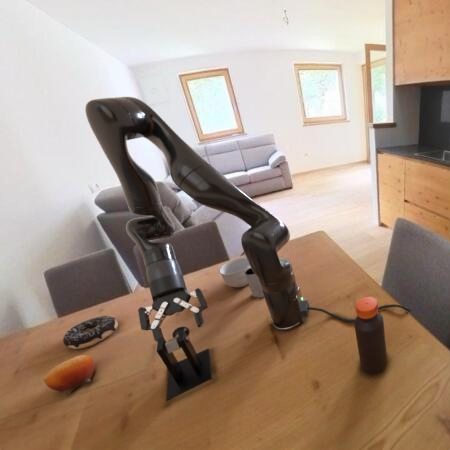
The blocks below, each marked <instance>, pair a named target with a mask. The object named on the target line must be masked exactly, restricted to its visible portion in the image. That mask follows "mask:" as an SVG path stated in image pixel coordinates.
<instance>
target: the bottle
mask: <svg viewBox="0 0 450 450" xmlns="http://www.w3.org/2000/svg"><path fill="white" fill-rule="evenodd" d="M378 307H379V305H378V301H377V299H376V298H375V297H372V296H363V297H361V298H359V299H358V300H357V301H356V303H355V311H356V317H355V318H354V319H355V321H354V322H353V325H354V332H355V337H356V343H357V350H358V356H359V363H360V368H361V370H362V371H363V373H365V374H367V375H369V376H376V375H379V374H381V373H383V371H384V370H385V369H386V367H387V365H388V356H387V355H388V353H387V344H386V334H385V325H384V317H383V315H382V313H380V312H379V310H378Z"/></svg>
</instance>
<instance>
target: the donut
mask: <svg viewBox="0 0 450 450" xmlns="http://www.w3.org/2000/svg"><path fill="white" fill-rule="evenodd" d="M118 326H119V323H118V321H117V320H116V317H113V316H110V315H101V316H95V317H92V318H89V319H87V320H85V321H82V322H80V323H77V324H75V325H74V326H72V327H71V328H69V330H67V331H66V332H65V333H64V336H63V339H62V340H63V344H64V346H66V348H69V349H73V350H80V349H85V348H89V347H92V346H94V345H96V344H98V343H100V342H102V341H104V340H105V339H107V338H108V337H110V336H111V335H112V334H113V333H115V331H116V330H117V329H118Z"/></svg>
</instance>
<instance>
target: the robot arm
mask: <svg viewBox="0 0 450 450" xmlns="http://www.w3.org/2000/svg"><path fill="white" fill-rule="evenodd" d="M84 110H85V116H86V119H87V123H88V125H89V127H90V129H91V131H92V132H93V135H94V136H95V139H96V140H97V142H98V144H99V145H100V148H101V150H102V152H103V153H104V155H105V156H106V159H107V160H108V161H109V164H110V165H111V167H112V170H113V171H114V173H115V174H116V177H117V178H118V181H119V184H120V186H121V189H122V192H123V196H124V198H125V203H126V205H127V207H128V210H129V211H130V212H131V213H132V214H135V215H139V216H142V217H135V218H131V219H129V220H128V221H127V223H126V225H125V232H126V233H127V235H128V237H129V238H130V239H131V240H132V242H133V243H134V245H136V247H137V248H138V250H139V252H140V255H141V257H142V260H143V264H144V268H145V277H146V281H147V284H148V288H149V291H150V295H151V300H152V304H151V305H149V306H146V307H143V306H141V307H139V308H138V309H137V312H138V318H139V324H140V329H141V330H142V331H147V332H148V331H151V332H152V336H153V340H154V341H155V342H157V343H158V338H161V337H164V334H163V330H162V328H161V326H162V324H163V322H164V321H165V320H166V318H167V316H169V317H170V316H173V315H175V314H177V313H182V312H184V310H186V309H187V310H189V311H191V312H193V316H194V319H195V324H196V326H197V328H201V327H203V325H204V323H205V320H204V317H203V311H204V310H206V309H208V307H209V305H208V303H207V300H206V298H205V296H204V293H203V290H202V289H200V288H199V287H197V288H195V289H194V290H192V291H190V292H189V291H188V289H187V285H186V281H185V278H184V274H183V270H182V268H181V265H180V264H179V262H178V258H177V255H176V252H175V248H174V246H173V245H172V244H171V243H168V242H152V241H155V240H161V239H166V238H170V237H171V236H173V235H174V233H175V232H176V225H175V222H174V221H173V219H172V218H171V216H170V215H169V214H168V213H167V211H166V210H165V208H164V205H163V202H162V199H161V195H160V192H159V187H158V185H157V181H156V180H155V179H154V177H153V176H152V175H151V174H150V173H149V172H148V171H147V170H145V168H143V167H142V166H141V165H139V164H138V163H137V162H136V161H135V160H134V158H133V157H132V155H131V154H130V151H129V149H128V144H127V141H131V140H135V139H140V138H141V139H142V138H145V139H146V140H147V141H149V142H151V143H152V144H153V145H154V146H155V147H156V148H157V149H158V150H159V151H160V152H161V153H162V155H163V156H164V158H165V161H166V165H167V169H168V171H169V172H168V173H169V175H170V178H171V180H172V182H173V183H174V184H175V186H177V187H178V188H179V189H180V190H181V191H182V192H184V193H185V194H186V195H187V196H189V197H190V198H191V199H192V200H193V201H195V202H196V203H198V204H200V205H201V206H205V207H206V208H210V209H213V210H217V211H220V212H222V213H225V214H229V215H232V216H234V217H236V218H238V219H240V220H241V221H242V222H243V223H245V224H247V225H248V226H249V228H248V229H247V230H245V231H244V232H243V233H242V235H241V239H240V241H241V242H240V243H241V247H242V250H243V253H244V256H245V255H246V257H247V260H248V262H249V265H250V267H251V269H252V271H253V272H254V273H255V275H256V276H257V277H258V280H259V283H260V286H261V289H262V292H263V295H264V297H263V298H264V301H265V303H266V307H267V310H268V313H269V318H270V320H271V321H272V325H273V327H274V328H275V329H276V330H278V331H288V330H291V329H294V328H297V326H299V325H301V324H304V323H305V318H307V317H309V311H318V312H321V313H324V314H326V315H328V316H330V317H333V318H336V319H338V320H341V321H344V322H349V323H354V321H355V318H345V317H343V316H339V315H337V314H334V313H332V312H330V311H328V310H326V309H324V308H320V307H314V306H313V307H312V306H310V304H309V300H308V299H306V300H304V298H303V295H302V292H301V288H300V286H298V284H297V280H296V277H295V272H294V269H293V265H292V262H291V261H290V260H289V259H287V258H285V257H279V255H278V252H279V251H281V249H283V247H284V246H286V244H287V243H288V242H289V241H290V240H291V239H290V238H291V233H290V230H289V227H288V226H287V225H286V224H285V222H283V221H282V220H281V219H280V218H279V217H277V216H276V215H274V214H273V213H271V211H269V210H268V209H266V208H265V207H263V206H262V205H260V204H259V203H257V202H256V201H255V200H254V199H252V198H251V197H250V196H248V195H247V194H246V193H245V192H243V190H242V189H240V188H239V187H237V186H236V185H235V184H234V183H233V182H232V181H230V179H228V177H226V175H224V174H223V173H222V172H221V171H219V169H217V168H216V167H215V166H214V165H212V164H211V162H209V161H208V160H206V159H205V158H204V157H202V156H201V155H200V154H199V153H198V152H197V151H196V150H195V149H194V148H193V147H192V146H190V144H188V143H187V142H186V141H185V140H184V139H182V137H181V136H180V135H179V134H177V133H176V131H174V130H173V128H171V126H170V125H169V124H168V123H167V122H166V121H165V120H164V119H163V118H162V117H161V116H160V115H159V114H158V113H157V112H156V111H155V110H154V109H153V108H152V107H151V106H150V105H148V104H147V103H146V102H145V101H143V100H141V99H140V98H136V97H133V96H118V97H117V96H116V97H104V98H95V99H91V100H89V101H87V103H86V104H85V109H84ZM192 297H193V298H195V299H197V300H198V302H199V306H198V307H196V306H195V305H192V304H190V303H189V302H190V300H191V299H192ZM386 308H387V309H388V308H400V309H403V310H405V311H407V312H409V313H410V312H411V311H412V310H411V309H409V308H408V307H406V306H404V305H402V304H395V303H394V304H385V305H381V306H378V311H380V310H381V309H386ZM153 310H154V311H156V315H155V316H154V318H153V321H152V323H151V321H150V315H151V314H152V311H153Z"/></svg>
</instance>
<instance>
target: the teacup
mask: <svg viewBox="0 0 450 450" xmlns="http://www.w3.org/2000/svg"><path fill="white" fill-rule="evenodd" d="M249 268H251V267H250V265H249V262H248V260H247V257H246V255H245V254H244V255H243V257H238V258H235V259H232V260H230V261H227V262H226V263H225V264H223V265H222V266H220V268H219V274H220V275H221V276H222V279H223V281H224V283H225V284H226V285H227V286H228V287H231V288H243V287H245V286H247V285H249V284H248V281H247V278H246V275H245V271H246V270H248V269H249Z"/></svg>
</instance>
